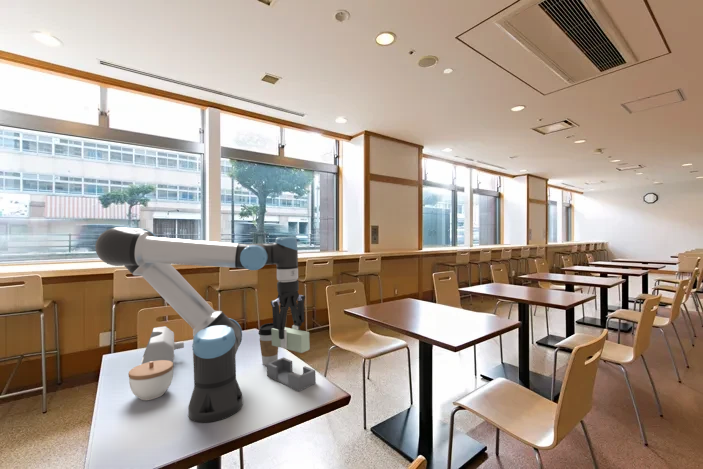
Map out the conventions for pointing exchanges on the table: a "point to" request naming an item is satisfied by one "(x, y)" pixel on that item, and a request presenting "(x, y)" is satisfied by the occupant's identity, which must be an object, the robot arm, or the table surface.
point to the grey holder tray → (290, 374)
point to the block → (292, 339)
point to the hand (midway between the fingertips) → (289, 345)
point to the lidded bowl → (151, 379)
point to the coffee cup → (267, 344)
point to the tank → (161, 345)
